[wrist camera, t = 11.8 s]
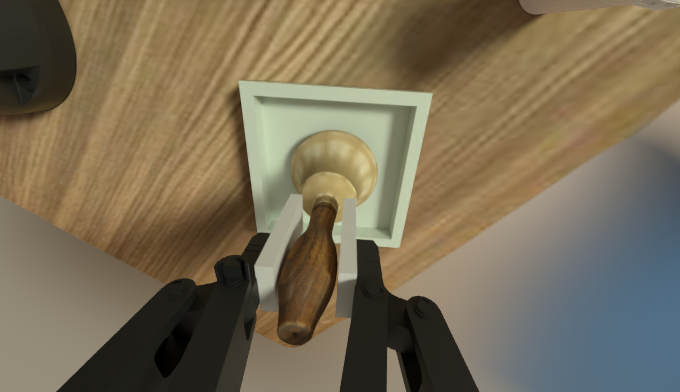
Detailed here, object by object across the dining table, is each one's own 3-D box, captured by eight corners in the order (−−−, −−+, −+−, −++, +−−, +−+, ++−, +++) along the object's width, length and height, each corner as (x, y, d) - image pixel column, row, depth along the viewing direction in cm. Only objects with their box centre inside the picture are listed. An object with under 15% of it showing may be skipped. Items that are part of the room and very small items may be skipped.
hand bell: (287, 203, 25) (197, 381, 10) (294, 121, 21) (166, 225, 7) (367, 217, 25) (384, 409, 11) (387, 138, 21) (456, 274, 7)
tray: (265, 223, 28) (257, 237, 25) (250, 79, 21) (238, 80, 19) (395, 233, 27) (399, 247, 25) (424, 91, 21) (432, 93, 18)
